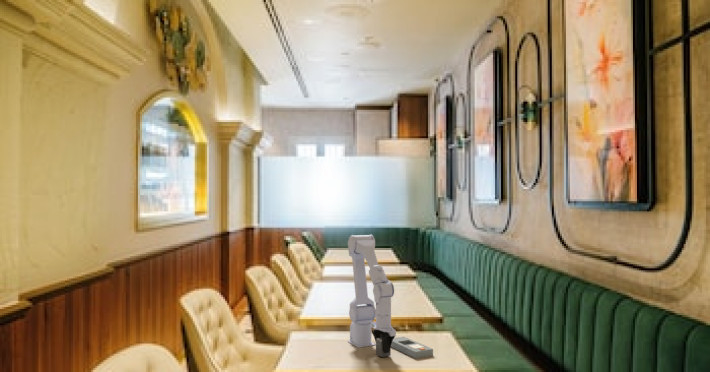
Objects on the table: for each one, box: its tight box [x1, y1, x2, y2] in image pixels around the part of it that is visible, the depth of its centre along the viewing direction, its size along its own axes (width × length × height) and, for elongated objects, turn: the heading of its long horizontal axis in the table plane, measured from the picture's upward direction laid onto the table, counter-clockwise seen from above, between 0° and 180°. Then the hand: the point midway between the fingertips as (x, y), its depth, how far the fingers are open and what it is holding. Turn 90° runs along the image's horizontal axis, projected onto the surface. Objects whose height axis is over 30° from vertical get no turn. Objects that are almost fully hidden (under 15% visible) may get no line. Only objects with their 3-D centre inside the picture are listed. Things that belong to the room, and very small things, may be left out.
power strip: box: [391, 336, 434, 360], centre depth 206 cm, size 20×8×3 cm, turn 28°
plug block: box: [375, 338, 392, 358], centre depth 198 cm, size 4×4×6 cm
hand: (383, 351), depth 198 cm, fingers closed on plug block, 4 cm apart
